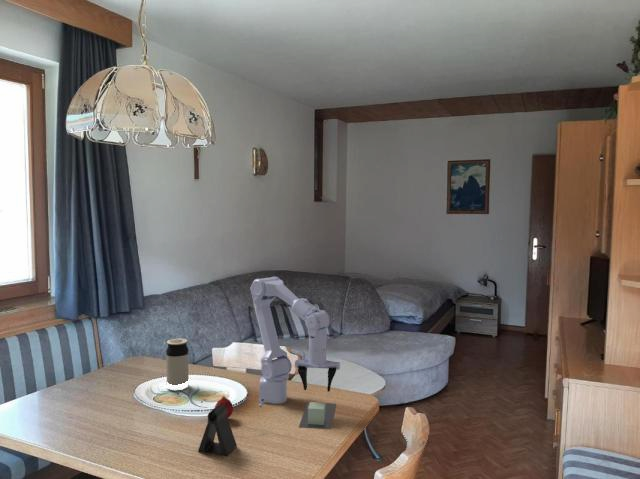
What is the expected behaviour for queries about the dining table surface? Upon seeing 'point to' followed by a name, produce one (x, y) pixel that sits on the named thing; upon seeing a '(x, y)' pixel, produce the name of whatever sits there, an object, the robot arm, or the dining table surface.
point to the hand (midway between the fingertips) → (317, 389)
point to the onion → (227, 404)
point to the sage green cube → (316, 413)
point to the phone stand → (218, 433)
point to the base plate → (328, 417)
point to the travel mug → (177, 361)
